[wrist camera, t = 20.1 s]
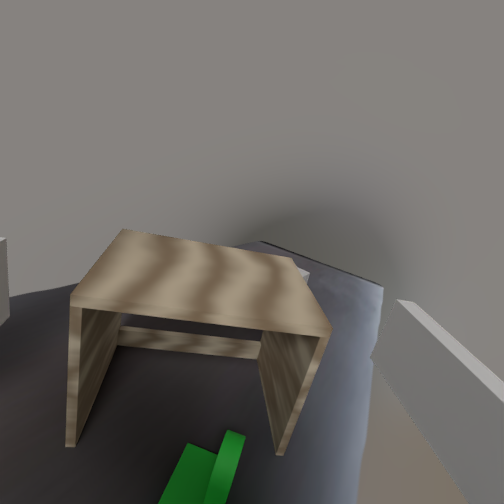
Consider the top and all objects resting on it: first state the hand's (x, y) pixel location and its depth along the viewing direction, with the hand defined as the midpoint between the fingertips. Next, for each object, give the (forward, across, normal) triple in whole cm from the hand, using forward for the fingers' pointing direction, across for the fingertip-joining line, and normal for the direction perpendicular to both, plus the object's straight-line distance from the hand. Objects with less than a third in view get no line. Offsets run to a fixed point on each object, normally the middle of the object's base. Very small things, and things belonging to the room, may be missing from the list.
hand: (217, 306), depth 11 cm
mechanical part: (+9, +3, -30) cm, 32 cm away
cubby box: (+25, +2, -30) cm, 39 cm away
